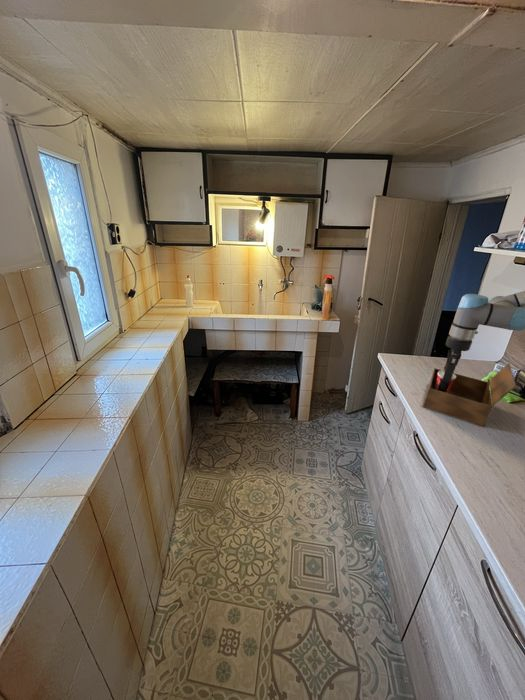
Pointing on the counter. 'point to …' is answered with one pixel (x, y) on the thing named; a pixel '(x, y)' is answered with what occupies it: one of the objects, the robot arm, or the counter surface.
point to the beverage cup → (440, 376)
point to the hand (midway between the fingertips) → (440, 391)
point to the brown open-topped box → (461, 399)
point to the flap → (501, 384)
